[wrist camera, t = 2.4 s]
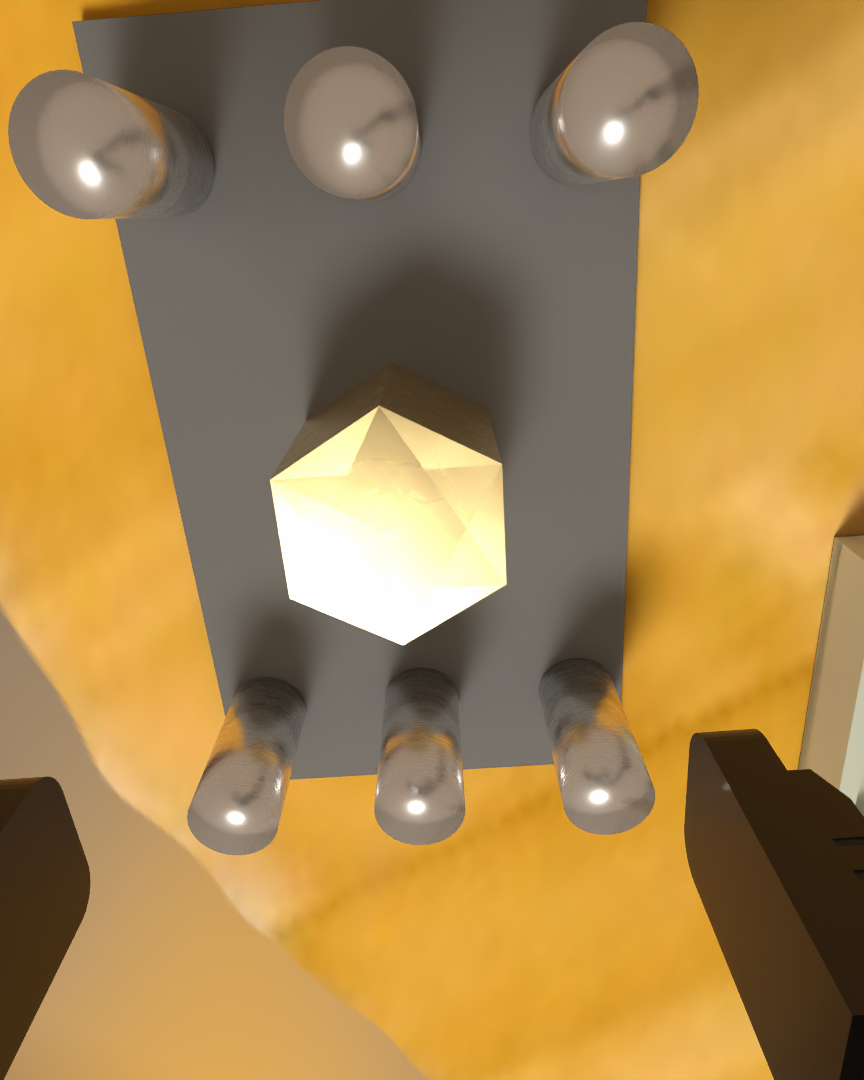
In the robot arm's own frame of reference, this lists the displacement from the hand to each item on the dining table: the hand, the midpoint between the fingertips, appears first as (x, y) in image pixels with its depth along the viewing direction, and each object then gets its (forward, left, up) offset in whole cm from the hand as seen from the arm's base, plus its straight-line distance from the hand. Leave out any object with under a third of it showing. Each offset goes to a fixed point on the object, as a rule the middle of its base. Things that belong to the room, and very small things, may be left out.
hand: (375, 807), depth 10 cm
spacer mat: (0, 0, -13) cm, 13 cm away
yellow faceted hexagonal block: (0, 0, -13) cm, 13 cm away
